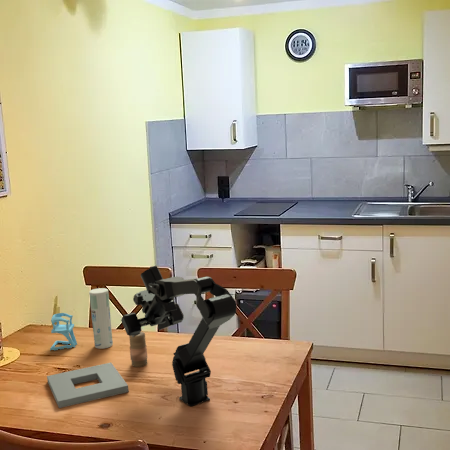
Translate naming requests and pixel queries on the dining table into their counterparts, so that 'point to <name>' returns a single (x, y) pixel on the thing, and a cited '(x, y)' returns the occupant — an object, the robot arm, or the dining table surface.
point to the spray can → (101, 318)
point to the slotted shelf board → (70, 395)
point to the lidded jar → (138, 350)
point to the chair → (63, 331)
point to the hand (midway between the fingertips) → (145, 332)
